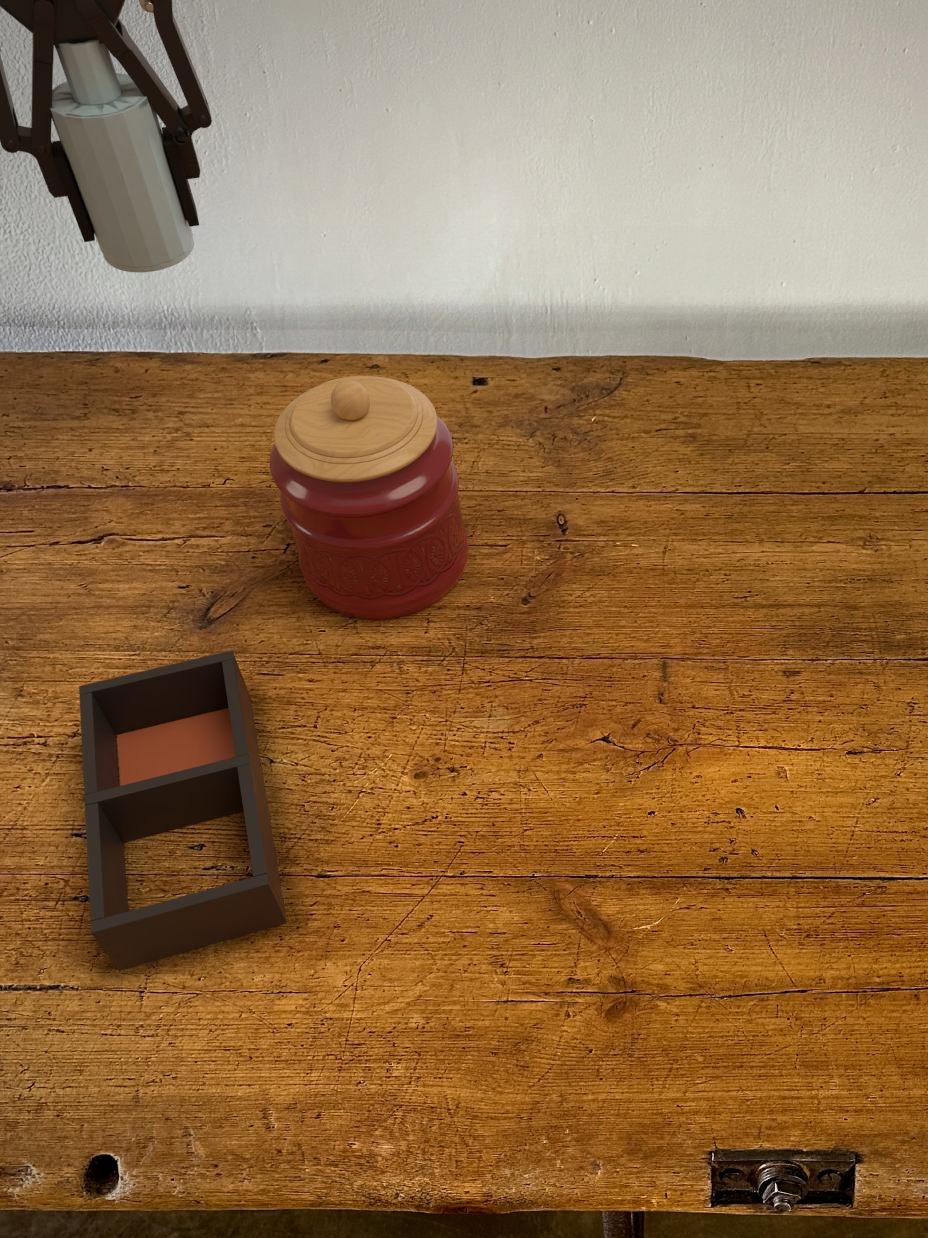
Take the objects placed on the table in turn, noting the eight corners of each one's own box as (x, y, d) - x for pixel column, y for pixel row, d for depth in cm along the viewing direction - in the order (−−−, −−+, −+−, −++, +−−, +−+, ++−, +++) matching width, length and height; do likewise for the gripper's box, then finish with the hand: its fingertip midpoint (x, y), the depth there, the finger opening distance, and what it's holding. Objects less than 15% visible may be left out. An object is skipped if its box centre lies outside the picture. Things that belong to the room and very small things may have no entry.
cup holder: (107, 735, 85) (78, 685, 81) (252, 700, 87) (232, 649, 83) (123, 976, 73) (90, 933, 69) (289, 928, 76) (268, 883, 71)
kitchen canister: (272, 600, 93) (209, 418, 80) (358, 495, 101) (314, 312, 87) (422, 647, 91) (384, 467, 77) (498, 535, 98) (475, 353, 85)
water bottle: (87, 265, 93) (4, 50, 80) (130, 220, 97) (58, 9, 85) (169, 278, 92) (98, 63, 80) (209, 232, 96) (148, 21, 84)
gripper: (-153, -79, 71) (3, 271, 88) (197, -108, 75) (279, 230, 93) (-144, -122, 75) (3, 219, 93) (186, -148, 80) (266, 182, 98)
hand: (141, 224), depth 93 cm, fingers closed on water bottle, 7 cm apart
